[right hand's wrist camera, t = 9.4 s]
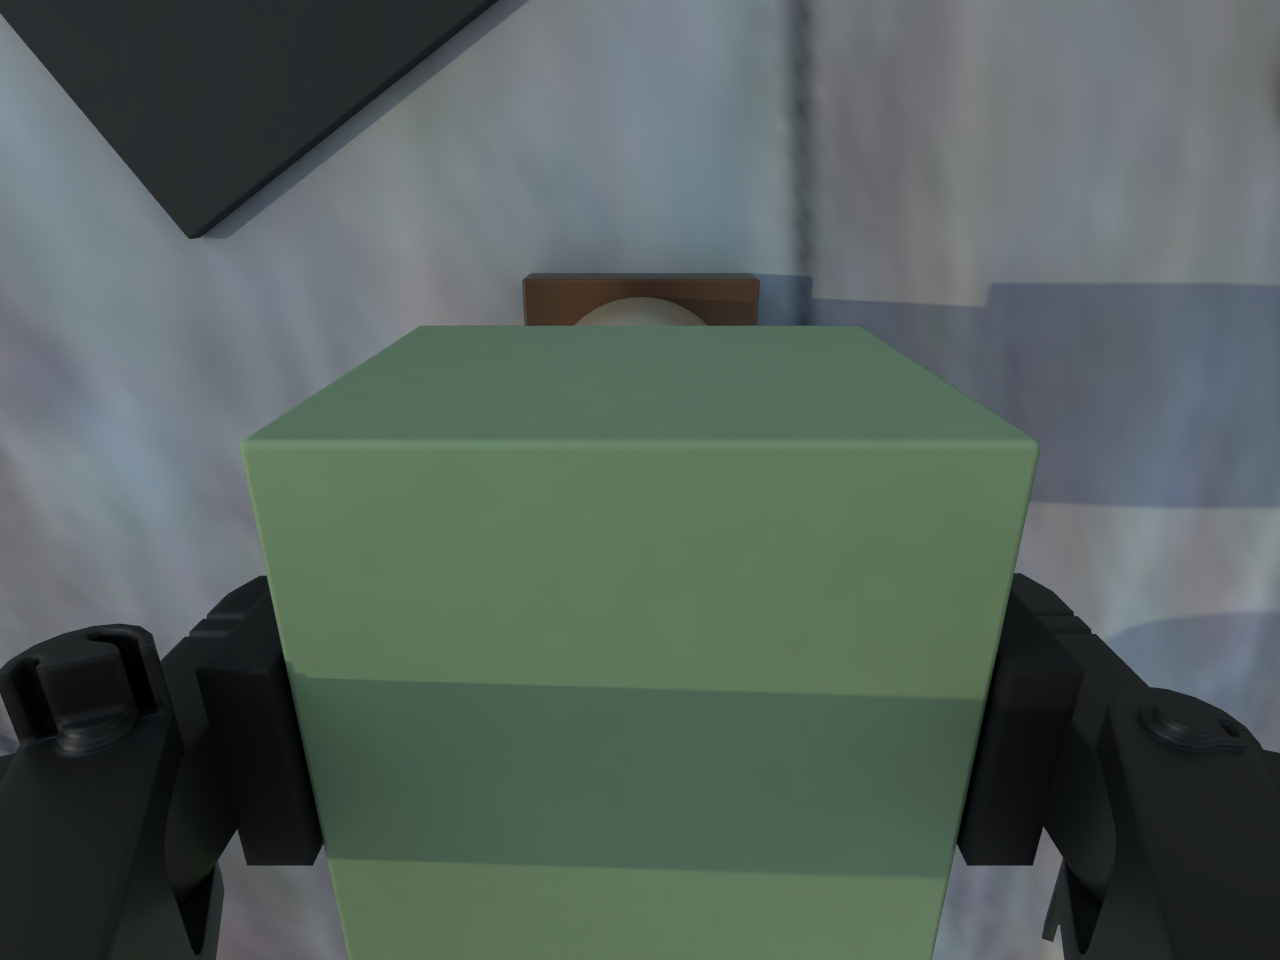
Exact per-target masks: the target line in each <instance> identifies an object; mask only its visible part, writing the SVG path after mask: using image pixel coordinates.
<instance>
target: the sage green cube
mask: <svg viewBox="0 0 1280 960" xmlns="http://www.w3.org/2000/svg"><path fill="white" fill-rule="evenodd" d="M240 452H241V456H242V461H243V466H244V470H245V475H246V480H247V485H248V489H249V494H250V499H251V503H252V508H253V513H254V517H255V522H256V527H257V532H258V536H259V541H260V546H261V550H262V555H263V560H264V565H265V569H266V574H267V579H268V583H269V588H270V593H271V597H272V602H273V607H274V612H275V616H276V621H277V626H278V630H279V635H280V640H281V645H282V649H283V654H284V659H285V663H286V668H287V673H288V677H289V682H290V687H291V692H292V696H293V701H294V706H295V710H296V715H297V720H298V724H299V729H300V734H301V739H302V743H303V748H304V753H305V757H306V762H307V767H308V772H309V776H310V781H311V786H312V790H313V795H314V800H315V804H316V809H317V814H318V819H319V823H320V828H321V833H322V837H323V842H324V847H325V851H326V856H327V861H328V866H329V870H330V875H331V880H332V884H333V889H334V894H335V899H336V903H337V908H338V913H339V917H340V922H341V927H342V931H343V936H344V941H345V946H346V950H347V955H348V960H932V955H933V951H934V946H935V941H936V937H937V932H938V927H939V923H940V918H941V913H942V908H943V904H944V899H945V894H946V890H947V885H948V880H949V876H950V871H951V866H952V861H953V857H954V852H955V847H956V843H957V838H958V833H959V829H960V824H961V819H962V814H963V810H964V805H965V800H966V796H967V791H968V786H969V782H970V777H971V772H972V767H973V763H974V758H975V753H976V749H977V744H978V739H979V735H980V730H981V725H982V720H983V716H984V711H985V706H986V702H987V697H988V692H989V688H990V683H991V678H992V673H993V669H994V664H995V659H996V655H997V650H998V645H999V641H1000V636H1001V631H1002V626H1003V622H1004V617H1005V612H1006V608H1007V603H1008V598H1009V594H1010V589H1011V584H1012V579H1013V575H1014V570H1015V565H1016V561H1017V556H1018V551H1019V547H1020V542H1021V537H1022V532H1023V528H1024V523H1025V518H1026V514H1027V509H1028V504H1029V500H1030V495H1031V490H1032V485H1033V481H1034V476H1035V471H1036V467H1037V462H1038V457H1039V453H1040V446H1039V442H1038V441H1037V440H1036V439H1034V438H1033V437H1031V436H1030V435H1028V434H1027V433H1025V432H1024V431H1022V430H1020V429H1019V428H1017V427H1016V426H1014V425H1013V424H1011V423H1010V422H1008V421H1006V420H1005V419H1003V418H1002V417H1000V416H999V415H997V414H996V413H994V412H993V411H991V410H989V409H988V408H986V407H985V406H983V405H982V404H980V403H979V402H977V401H975V400H974V399H972V398H971V397H969V396H968V395H966V394H965V393H963V392H962V391H960V390H958V389H957V388H955V387H954V386H952V385H951V384H949V383H948V382H946V381H944V380H943V379H941V378H940V377H938V376H937V375H935V374H934V373H932V372H931V371H929V370H927V369H926V368H924V367H923V366H921V365H920V364H918V363H917V362H915V361H913V360H912V359H910V358H909V357H907V356H906V355H904V354H903V353H901V352H900V351H898V350H896V349H895V348H893V347H892V346H890V345H889V344H887V343H886V342H884V341H882V340H881V339H879V338H878V337H876V336H875V335H873V334H872V333H870V332H869V331H867V330H865V329H864V328H862V327H860V326H420V327H418V328H416V329H415V330H413V331H411V332H410V333H408V334H407V335H405V336H404V337H402V338H401V339H399V340H398V341H396V342H394V343H393V344H391V345H390V346H388V347H387V348H385V349H384V350H382V351H381V352H379V353H377V354H376V355H374V356H373V357H371V358H370V359H368V360H367V361H365V362H364V363H362V364H360V365H359V366H357V367H356V368H354V369H353V370H351V371H350V372H348V373H346V374H345V375H343V376H342V377H340V378H339V379H337V380H336V381H334V382H333V383H331V384H329V385H328V386H326V387H325V388H323V389H322V390H320V391H319V392H317V393H316V394H314V395H312V396H311V397H309V398H308V399H306V400H305V401H303V402H302V403H300V404H298V405H297V406H295V407H294V408H292V409H291V410H289V411H288V412H286V413H285V414H283V415H281V416H280V417H278V418H277V419H275V420H274V421H272V422H271V423H269V424H268V425H266V426H264V427H263V428H261V429H260V430H258V431H257V432H255V433H254V434H252V435H250V436H249V437H247V438H246V439H244V440H243V441H242V443H241V447H240Z"/></svg>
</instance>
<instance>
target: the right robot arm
mask: <svg viewBox="0 0 1280 960" xmlns="http://www.w3.org/2000/svg"><path fill="white" fill-rule="evenodd" d="M0 694H1V697H2V699H3V702H4V704H5V707H6V709H7V712H8V714H9V717H10V720H11V722H12V725H13V727H14V730H15V732H16V735H17V737H18V740H19V742H20V747H19V749H18V750H17V752H16V753H15V754H11V755H6V756H1V757H0V960H216V954H217V946H218V938H219V930H220V922H221V914H222V906H223V898H224V886H223V879H222V874H221V871H220V867H219V864H218V859H219V857H220V856H221V854H222V852H223V851H224V849H225V848H226V846H227V844H228V843H229V841H230V839H231V838H232V836H233V835H234V833H235V831H236V830H237V829H238V832H239V836H240V840H241V844H242V847H243V851H244V855H245V858H246V862H247V865H313V864H314V862H315V860H316V858H317V855H318V853H319V851H320V849H321V847H322V845H323V843H324V842H323V837H322V833H321V828H320V823H319V819H318V814H317V809H316V804H315V800H314V795H313V790H312V786H311V781H310V776H309V772H308V767H307V762H306V757H305V753H304V748H303V743H302V739H301V734H300V729H299V724H298V720H297V715H296V710H295V706H294V701H293V696H292V692H291V687H290V682H289V677H288V673H287V668H286V663H285V659H284V654H283V649H282V645H281V640H280V635H279V630H278V626H277V621H276V616H275V612H274V607H273V602H272V597H271V593H270V588H269V583H268V579H267V576H259V577H257V578H255V579H253V580H252V581H250V582H248V583H246V584H245V585H243V586H241V587H239V588H237V589H236V590H234V591H232V592H230V593H229V594H227V595H226V596H225V597H224V598H223V599H222V600H221V601H220V602H219V603H218V604H217V605H216V606H215V607H214V608H213V609H212V610H211V611H210V612H209V613H208V614H207V619H202V620H201V621H200V622H199V623H198V624H197V625H196V626H195V627H194V628H193V629H192V630H191V631H190V635H189V637H184V638H183V639H182V640H181V641H180V642H179V643H178V644H177V645H176V646H175V647H174V648H173V649H172V650H171V651H170V652H169V653H168V654H167V655H166V656H165V657H164V658H163V659H162V660H161V661H160V660H159V656H158V653H157V649H156V646H155V642H154V639H153V636H152V634H151V633H150V632H148V631H147V630H145V629H144V628H142V627H141V626H134V625H126V624H111V625H101V626H92V627H88V628H84V629H80V630H76V631H72V632H68V633H64V634H61V635H59V636H56V637H54V638H51V639H49V640H47V641H44V642H42V643H39V644H37V645H34V646H32V647H31V648H29V649H27V650H26V651H24V652H22V653H21V654H19V655H17V656H16V657H14V658H13V659H11V660H9V661H8V662H7V663H6V664H5V665H4V666H3V667H2V668H1V669H0ZM1043 826H1044V828H1045V829H1046V831H1047V832H1048V834H1049V836H1050V837H1051V839H1052V840H1053V842H1054V843H1055V845H1056V847H1057V848H1058V850H1059V851H1060V853H1061V855H1062V856H1063V860H1062V864H1061V867H1060V871H1059V874H1058V878H1057V881H1056V884H1055V888H1054V891H1053V895H1052V898H1051V902H1050V905H1049V909H1048V912H1047V916H1046V919H1045V923H1044V929H1043V935H1042V939H1045V940H1048V941H1052V942H1053V940H1054V936H1055V933H1056V930H1057V926H1058V925H1059V924H1060V927H1061V935H1062V943H1063V951H1064V959H1065V960H1280V753H1277V752H1272V751H1267V750H1263V749H1262V747H1261V745H1260V743H1259V742H1258V741H1257V740H1256V739H1255V737H1254V736H1253V735H1252V734H1251V733H1250V731H1249V730H1248V729H1247V728H1246V727H1245V726H1244V725H1243V724H1241V723H1240V722H1238V721H1237V720H1236V719H1234V718H1233V717H1231V716H1230V715H1228V714H1227V713H1226V712H1224V711H1223V710H1221V709H1219V708H1217V707H1214V706H1212V705H1210V704H1208V703H1206V702H1204V701H1202V700H1200V699H1197V698H1195V697H1192V696H1189V695H1185V694H1182V693H1178V692H1175V691H1172V690H1168V689H1161V688H1152V687H1149V686H1148V685H1147V684H1146V683H1145V682H1144V681H1143V680H1142V679H1141V678H1140V677H1139V676H1138V675H1137V674H1136V673H1135V672H1134V671H1133V670H1132V669H1131V668H1130V667H1129V666H1128V665H1127V664H1126V663H1124V662H1123V661H1122V660H1121V659H1120V658H1119V657H1118V656H1117V655H1116V654H1115V653H1114V652H1113V651H1112V650H1111V649H1110V648H1109V647H1108V646H1107V645H1106V644H1105V643H1104V642H1103V641H1102V640H1101V639H1100V638H1099V637H1098V636H1097V635H1096V634H1092V633H1091V629H1090V628H1089V627H1088V626H1087V625H1086V624H1085V623H1084V622H1083V621H1082V620H1081V619H1080V618H1079V617H1078V616H1074V612H1073V611H1072V610H1071V609H1070V608H1069V607H1068V606H1067V605H1066V604H1065V603H1064V602H1063V601H1062V600H1061V599H1060V598H1059V597H1058V596H1057V595H1056V594H1055V593H1054V592H1053V591H1051V590H1049V589H1048V588H1046V587H1044V586H1042V585H1041V584H1039V583H1037V582H1035V581H1033V580H1032V579H1030V578H1028V577H1026V576H1024V575H1023V574H1021V573H1014V575H1013V579H1012V584H1011V589H1010V594H1009V598H1008V603H1007V608H1006V612H1005V617H1004V622H1003V626H1002V631H1001V636H1000V641H999V645H998V650H997V655H996V659H995V664H994V669H993V673H992V678H991V683H990V688H989V692H988V697H987V702H986V706H985V711H984V716H983V720H982V725H981V730H980V735H979V739H978V744H977V749H976V753H975V758H974V763H973V767H972V772H971V777H970V782H969V786H968V791H967V796H966V800H965V805H964V810H963V814H962V819H961V824H960V829H959V833H958V838H957V845H958V847H959V849H960V851H961V853H962V855H963V857H964V860H965V862H966V864H967V865H1033V862H1034V858H1035V855H1036V851H1037V847H1038V844H1039V840H1040V836H1041V833H1042V829H1043Z"/></svg>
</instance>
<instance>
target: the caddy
mask: <svg viewBox="0 0 1280 960" xmlns="http://www.w3.org/2000/svg"><path fill="white" fill-rule="evenodd" d="M522 283H523V301H524V318H525V326H757V314H758V297H759V280H758V279H757V278H756V277H755V276H754V275H752V274H529V275H528V276H527V277H526V278H525V279H523V282H522Z"/></svg>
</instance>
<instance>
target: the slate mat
mask: <svg viewBox="0 0 1280 960" xmlns="http://www.w3.org/2000/svg"><path fill="white" fill-rule="evenodd" d="M496 1H498V0H0V13H1V15H2V16H3V17H4V18H5V19H6V21H7V22H8V23H9V24H10V25H11V27H12V28H13V29H14V30H15V31H16V33H17V34H18V35H19V36H20V37H21V39H22V40H23V41H24V42H25V43H26V45H27V46H28V47H29V48H30V49H31V51H32V52H33V53H34V54H35V55H36V57H37V58H38V59H39V60H40V61H41V63H42V64H43V65H44V66H45V67H46V68H47V70H48V71H49V72H50V73H51V74H52V76H53V77H54V78H55V79H56V80H57V82H58V83H59V84H60V85H61V86H62V88H63V89H64V90H65V91H66V92H67V94H68V95H69V96H70V97H71V98H72V100H73V101H74V102H75V103H76V104H77V106H78V107H79V108H80V109H81V110H82V112H83V113H84V114H85V115H86V116H87V118H88V119H89V120H90V121H91V122H92V124H93V125H94V126H95V127H96V128H97V130H98V131H99V132H100V133H101V134H102V136H103V137H104V138H105V139H106V140H107V141H108V143H109V144H110V145H111V146H112V147H113V149H114V150H115V151H116V152H117V153H118V155H119V156H120V157H121V158H122V159H123V161H124V162H125V163H126V164H127V165H128V167H129V168H130V169H131V170H132V171H133V173H134V174H135V175H136V176H137V177H138V179H139V180H140V181H141V182H142V183H143V185H144V186H145V187H146V188H147V189H148V191H149V192H150V193H151V194H152V195H153V197H154V198H155V199H156V200H157V201H158V203H159V204H160V205H161V206H162V207H163V209H164V210H165V211H166V212H167V213H168V215H169V216H170V217H171V218H172V219H173V220H174V222H175V223H176V224H177V225H178V226H179V228H180V229H181V230H182V231H183V232H184V234H185V235H186V236H187V237H188V238H189V239H193V238H200V237H201V236H203V235H204V234H205V233H206V232H208V231H209V230H210V229H211V228H213V227H214V226H215V225H216V224H218V223H219V222H220V221H221V220H223V219H224V218H225V217H226V216H228V215H229V214H230V213H231V212H233V211H234V210H235V209H236V208H238V207H239V206H240V205H241V204H243V203H244V202H245V201H247V200H248V199H249V198H250V197H252V196H253V195H254V194H255V193H257V192H258V191H259V190H260V189H262V188H263V187H264V186H265V185H267V184H268V183H269V182H270V181H272V180H273V179H274V178H275V177H277V176H278V175H279V174H280V173H282V172H283V171H284V170H285V169H287V168H288V167H289V166H290V165H292V164H293V163H294V162H295V161H297V160H298V159H299V158H300V157H302V156H303V155H304V154H306V153H307V152H308V151H309V150H311V149H312V148H313V147H314V146H316V145H317V144H318V143H319V142H321V141H322V140H323V139H324V138H326V137H327V136H328V135H329V134H331V133H332V132H333V131H334V130H336V129H337V128H338V127H339V126H341V125H342V124H343V123H344V122H346V121H347V120H348V119H349V118H351V117H352V116H353V115H354V114H356V113H357V112H358V111H359V110H361V109H362V108H363V107H365V106H366V105H367V104H368V103H370V102H371V101H372V100H373V99H375V98H376V97H377V96H378V95H380V94H381V93H382V92H383V91H385V90H386V89H387V88H388V87H390V86H391V85H392V84H393V83H395V82H396V81H397V80H398V79H400V78H401V77H402V76H403V75H405V74H406V73H407V72H408V71H410V70H411V69H412V68H413V67H415V66H416V65H417V64H418V63H420V62H421V61H422V60H424V59H425V58H426V57H427V56H429V55H430V54H431V53H432V52H434V51H435V50H436V49H437V48H439V47H440V46H441V45H442V44H444V43H445V42H446V41H447V40H449V39H450V38H451V37H452V36H454V35H455V34H456V33H457V32H459V31H460V30H461V29H462V28H464V27H465V26H466V25H467V24H469V23H470V22H471V21H472V20H474V19H475V18H476V17H477V16H479V15H480V14H481V13H483V12H484V11H485V10H486V9H488V8H489V7H490V6H491V5H493V4H494V3H495V2H496Z"/></svg>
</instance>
